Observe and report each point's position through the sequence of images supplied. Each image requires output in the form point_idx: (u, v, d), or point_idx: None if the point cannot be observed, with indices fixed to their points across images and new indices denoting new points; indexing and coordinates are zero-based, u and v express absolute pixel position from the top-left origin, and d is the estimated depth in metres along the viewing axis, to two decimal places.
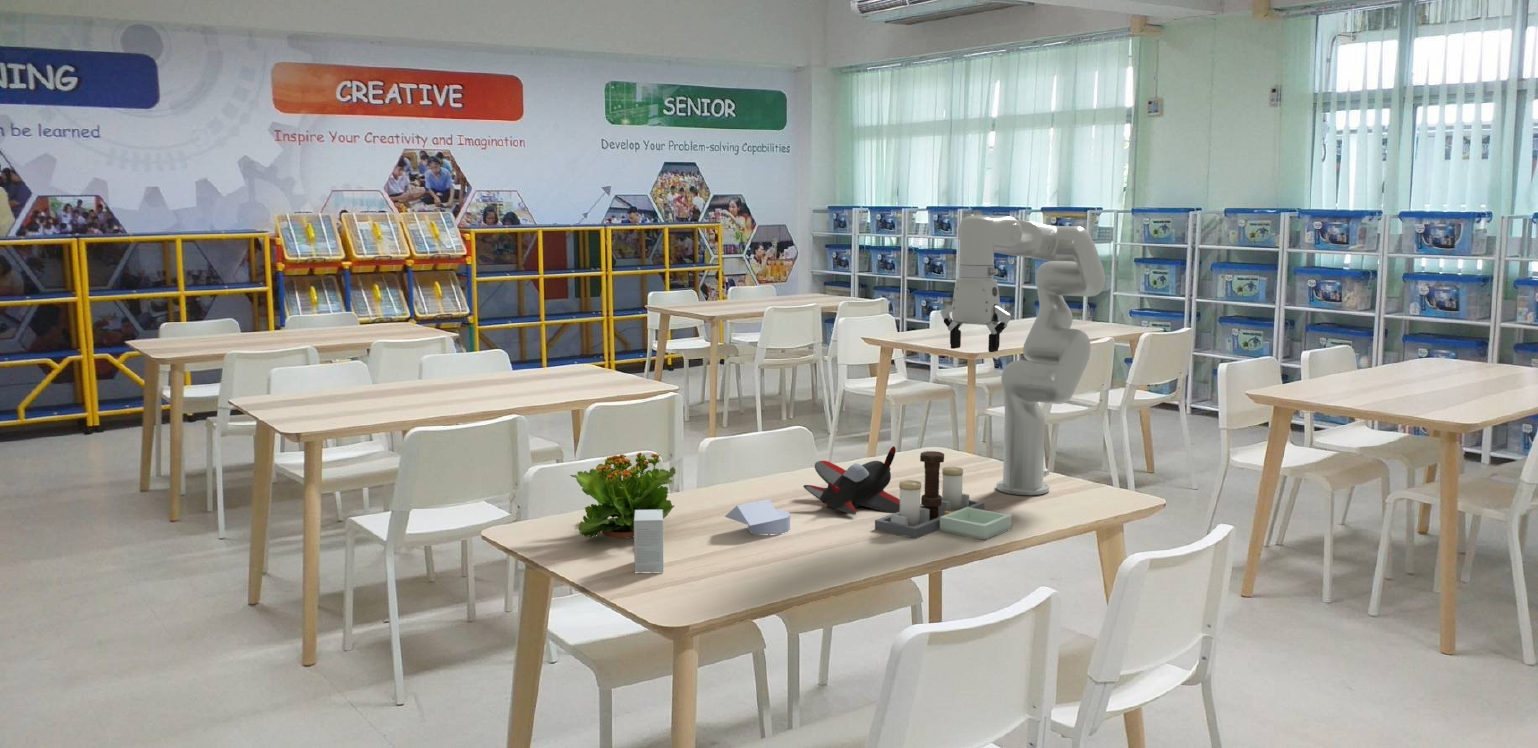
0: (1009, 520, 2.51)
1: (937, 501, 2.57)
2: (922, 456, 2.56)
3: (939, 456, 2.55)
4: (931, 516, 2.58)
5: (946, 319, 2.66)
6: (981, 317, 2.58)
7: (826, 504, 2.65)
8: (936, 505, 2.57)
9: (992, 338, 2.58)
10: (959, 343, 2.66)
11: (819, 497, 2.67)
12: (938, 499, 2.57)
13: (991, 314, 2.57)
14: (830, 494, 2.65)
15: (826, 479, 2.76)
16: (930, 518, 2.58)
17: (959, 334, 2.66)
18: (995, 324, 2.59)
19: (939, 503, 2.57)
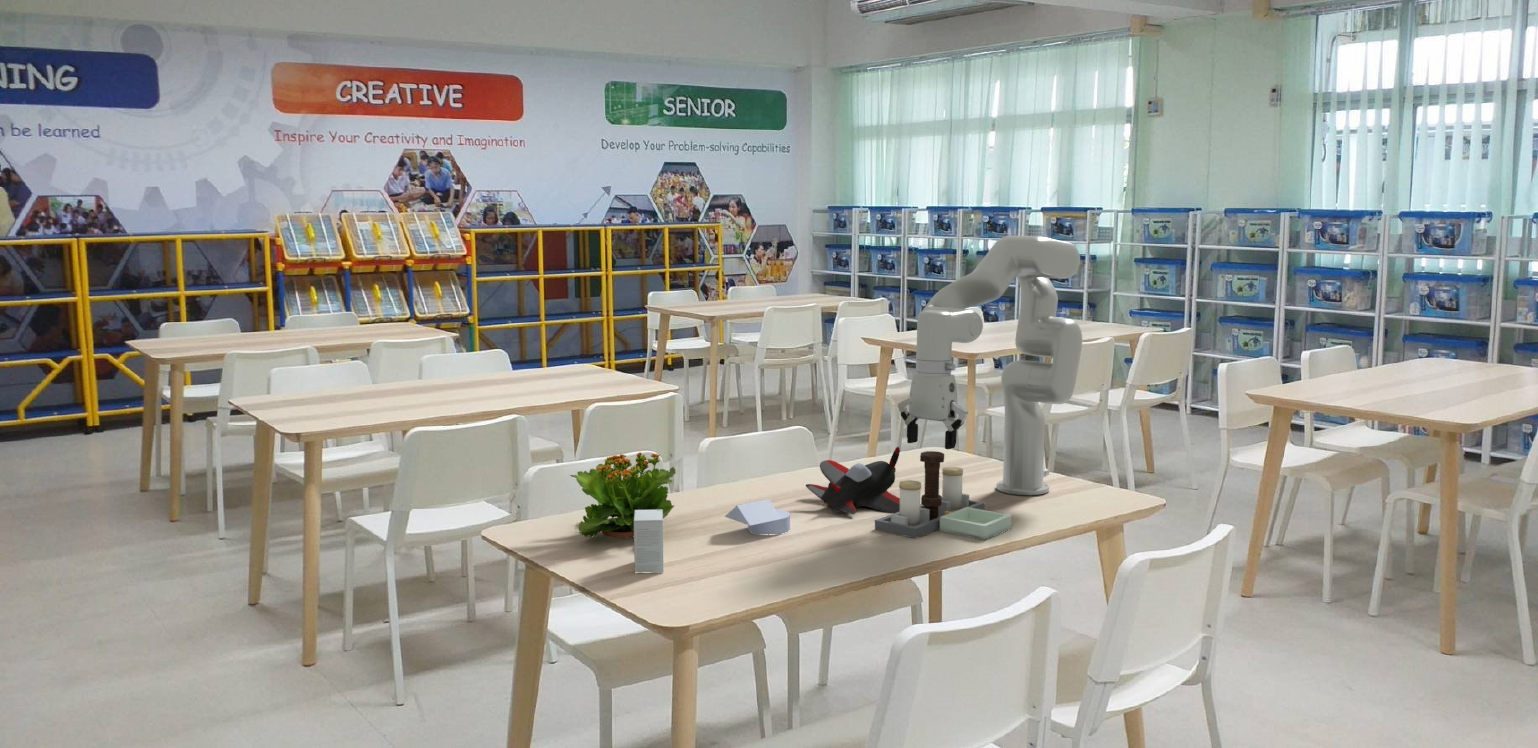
0: (1009, 520, 2.51)
1: (937, 501, 2.57)
2: (922, 456, 2.56)
3: (939, 456, 2.55)
4: (931, 516, 2.58)
5: (903, 413, 2.59)
6: (938, 413, 2.52)
7: (827, 503, 2.65)
8: (936, 505, 2.57)
9: (949, 435, 2.52)
10: (916, 437, 2.60)
11: (821, 496, 2.67)
12: (938, 499, 2.57)
13: (948, 411, 2.51)
14: (831, 493, 2.65)
15: (830, 478, 2.76)
16: (930, 518, 2.58)
17: (916, 428, 2.60)
18: (952, 420, 2.53)
19: (939, 503, 2.57)
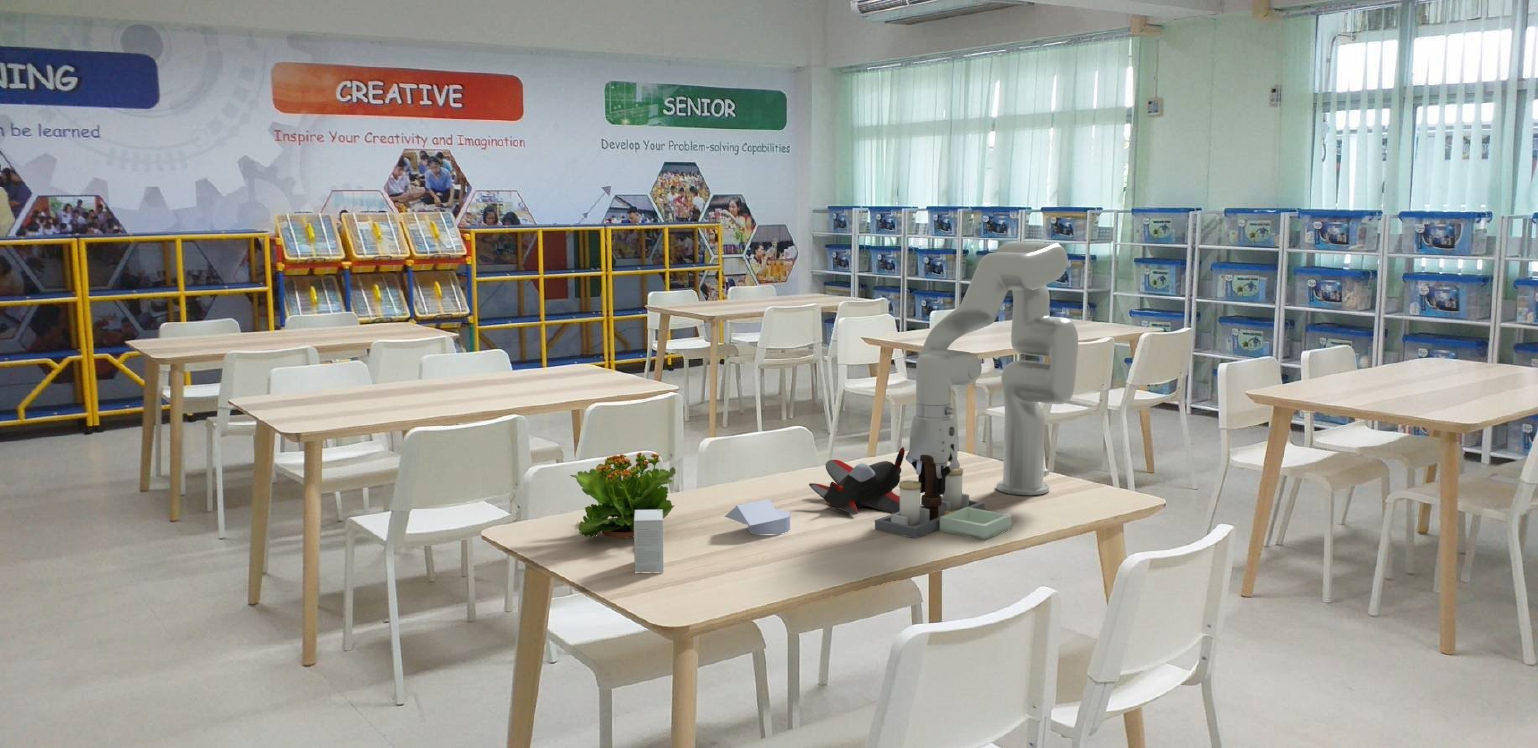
0: (1009, 520, 2.51)
1: (937, 501, 2.57)
2: (922, 456, 2.56)
3: None
4: (931, 516, 2.58)
5: (914, 462, 2.59)
6: (938, 457, 2.54)
7: (829, 503, 2.66)
8: (936, 505, 2.57)
9: (938, 482, 2.56)
10: None
11: (823, 496, 2.68)
12: (938, 499, 2.57)
13: (948, 454, 2.53)
14: (833, 493, 2.65)
15: (835, 478, 2.77)
16: (930, 518, 2.58)
17: None
18: (944, 467, 2.56)
19: (939, 503, 2.57)
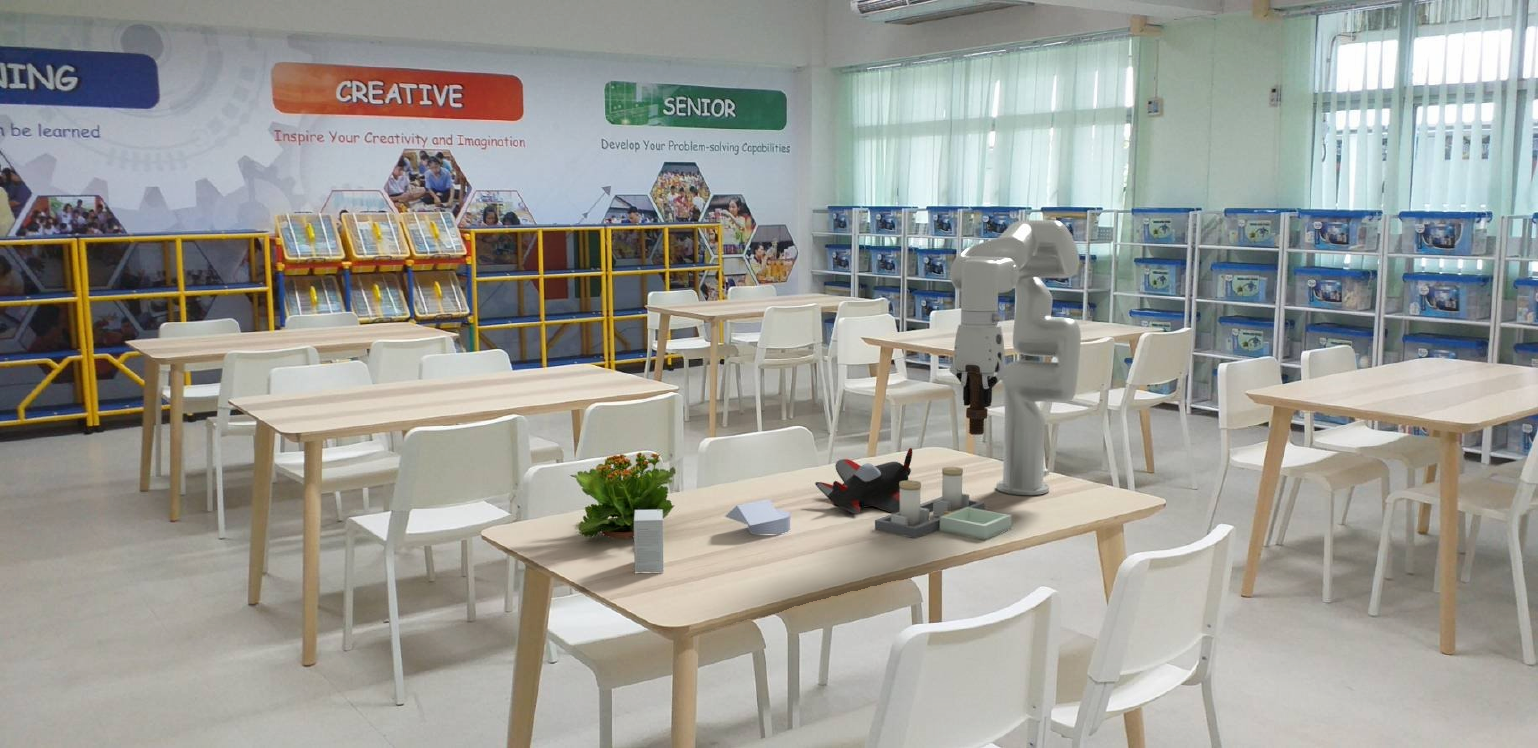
0: (1009, 520, 2.51)
1: (983, 413, 2.46)
2: (967, 366, 2.45)
3: None
4: (976, 429, 2.47)
5: (959, 374, 2.49)
6: (984, 366, 2.43)
7: (832, 502, 2.67)
8: (982, 417, 2.46)
9: (984, 393, 2.45)
10: None
11: (828, 495, 2.69)
12: (984, 411, 2.46)
13: (995, 363, 2.42)
14: (837, 492, 2.66)
15: (843, 477, 2.77)
16: (975, 431, 2.47)
17: None
18: (991, 377, 2.46)
19: (985, 415, 2.46)
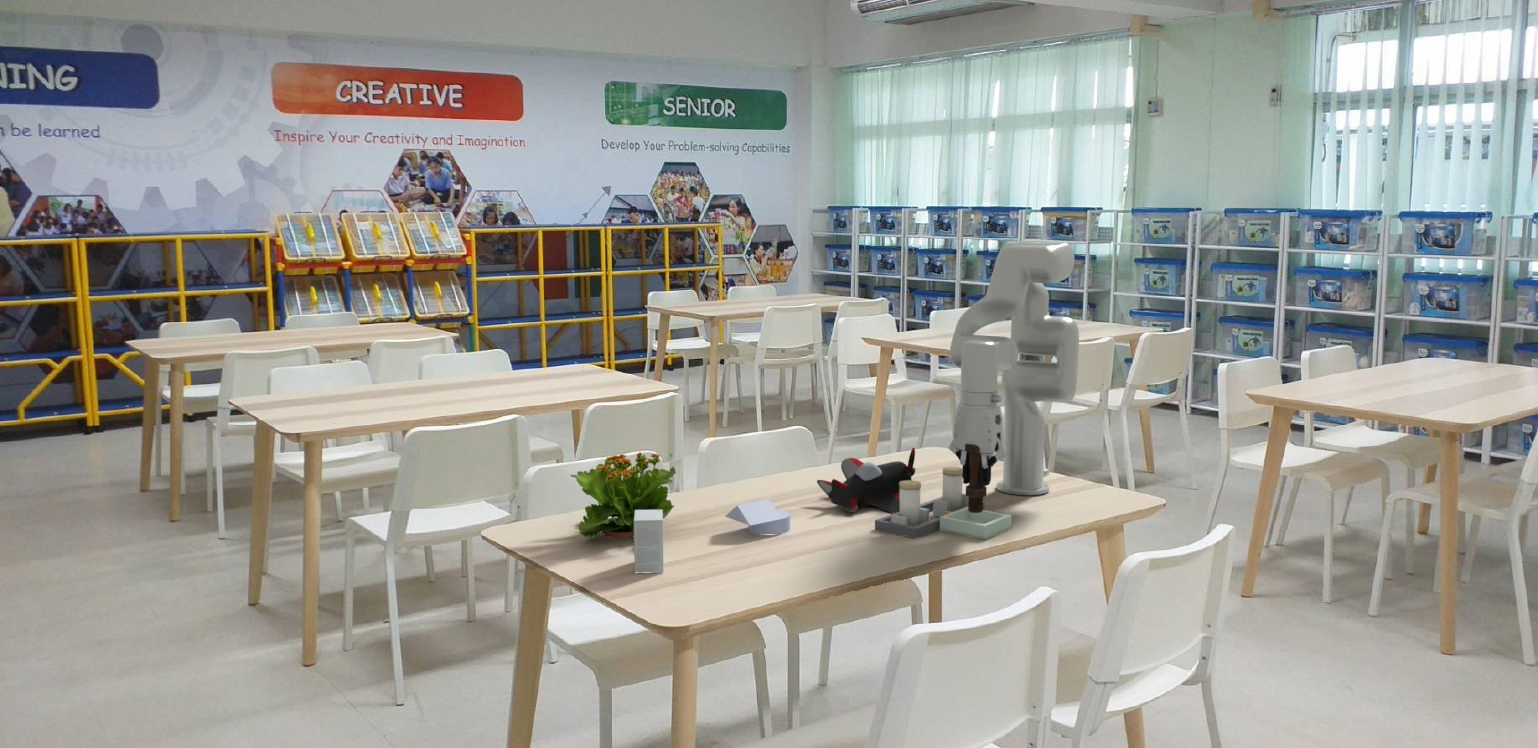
0: (1009, 520, 2.51)
1: (982, 492, 2.48)
2: (967, 445, 2.47)
3: None
4: (976, 508, 2.49)
5: (958, 452, 2.51)
6: (984, 446, 2.45)
7: (832, 500, 2.68)
8: (981, 496, 2.48)
9: (983, 472, 2.47)
10: None
11: (828, 492, 2.70)
12: (983, 490, 2.48)
13: (994, 444, 2.44)
14: (836, 490, 2.68)
15: (847, 476, 2.78)
16: (975, 510, 2.49)
17: None
18: (990, 456, 2.48)
19: (984, 494, 2.48)
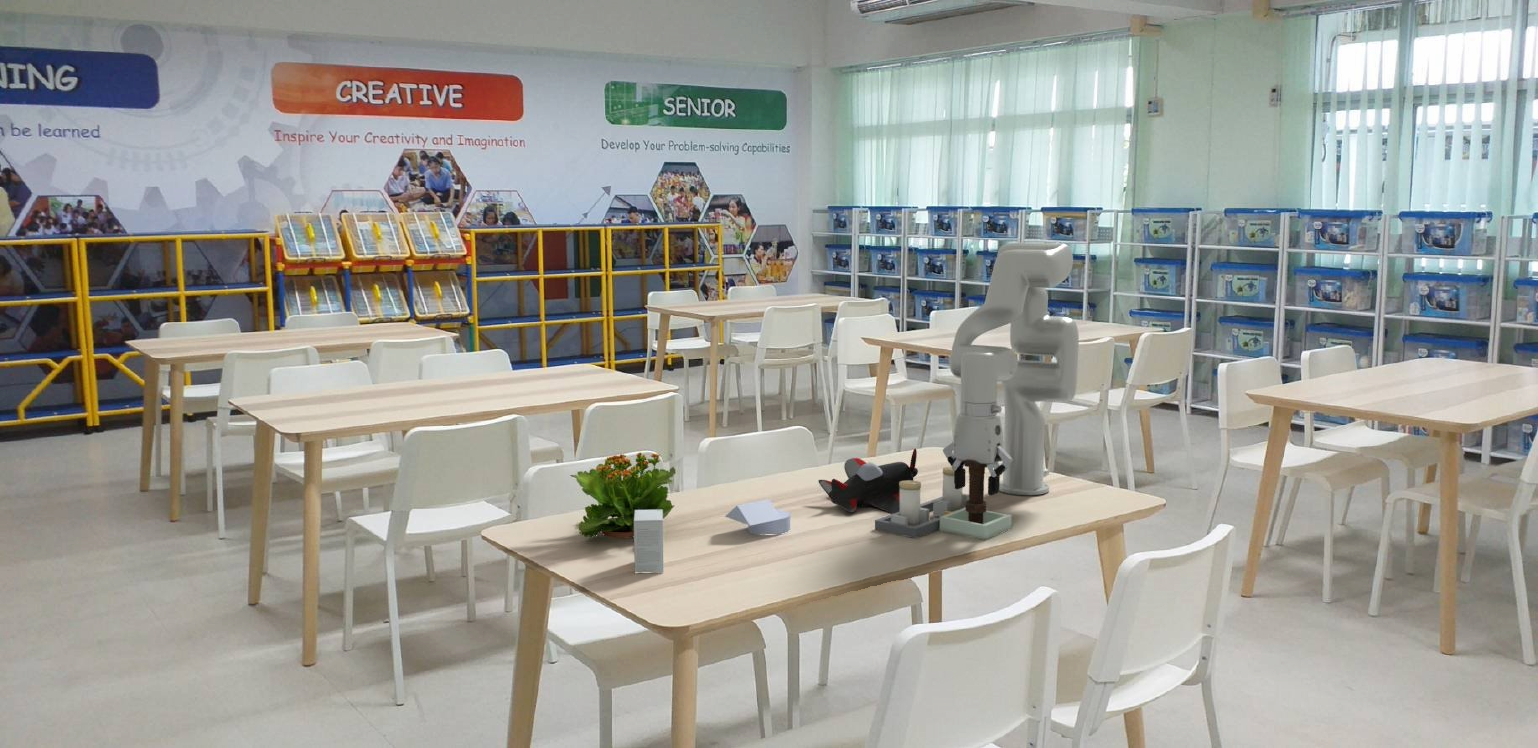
0: (1009, 520, 2.51)
1: (982, 507, 2.49)
2: (967, 461, 2.48)
3: None
4: None
5: (950, 458, 2.53)
6: (983, 457, 2.46)
7: (832, 500, 2.69)
8: (981, 511, 2.49)
9: (992, 481, 2.46)
10: (964, 483, 2.53)
11: (829, 492, 2.71)
12: (983, 505, 2.49)
13: (994, 454, 2.45)
14: (836, 490, 2.68)
15: (849, 476, 2.79)
16: None
17: (964, 473, 2.53)
18: (996, 465, 2.47)
19: (984, 509, 2.49)
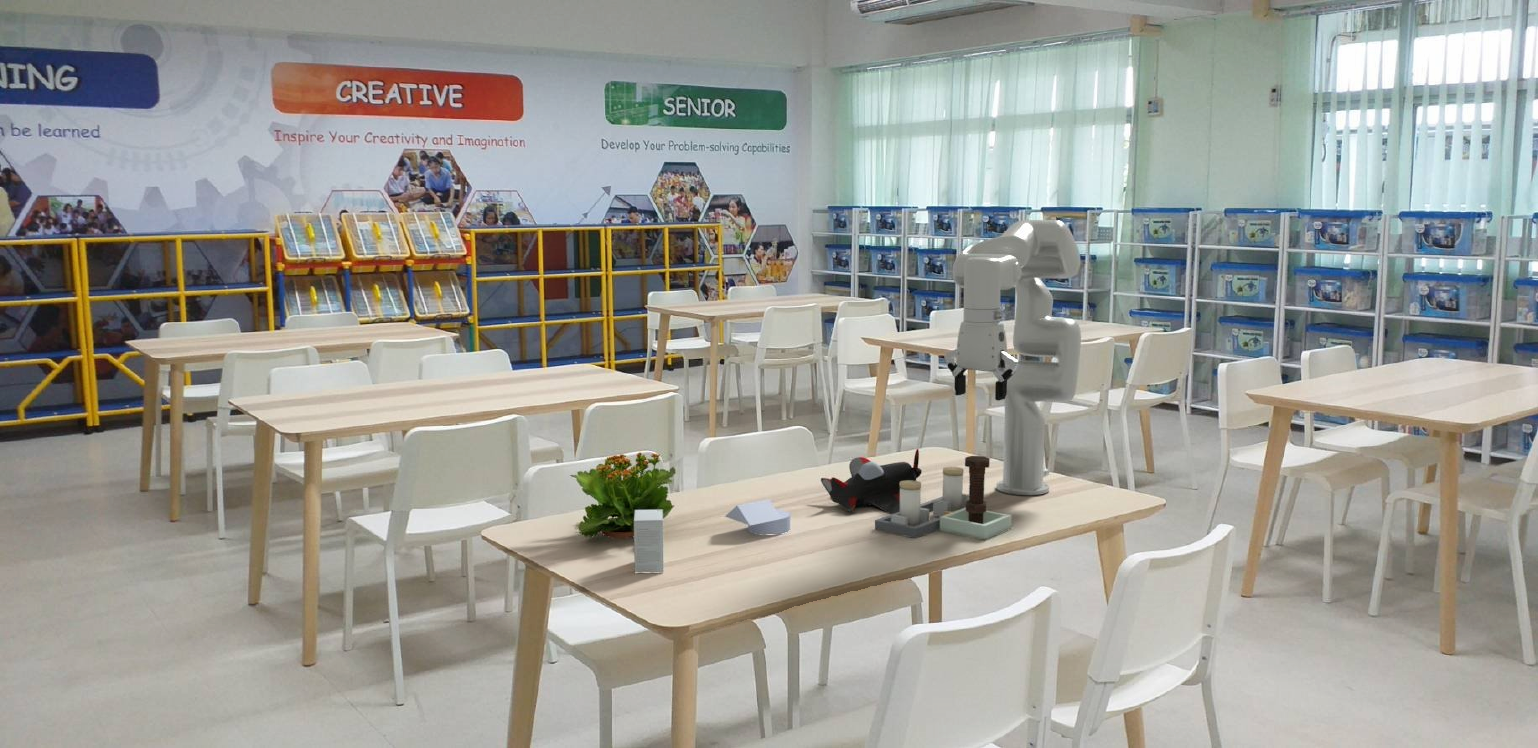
0: (1009, 520, 2.51)
1: (982, 507, 2.49)
2: (967, 461, 2.48)
3: (985, 461, 2.47)
4: None
5: (950, 364, 2.52)
6: (987, 364, 2.44)
7: (832, 498, 2.70)
8: (981, 511, 2.49)
9: (999, 386, 2.44)
10: (964, 389, 2.52)
11: (830, 491, 2.72)
12: (983, 505, 2.49)
13: (998, 361, 2.43)
14: (836, 488, 2.69)
15: (853, 475, 2.79)
16: None
17: (964, 380, 2.52)
18: (1002, 370, 2.45)
19: (984, 509, 2.49)
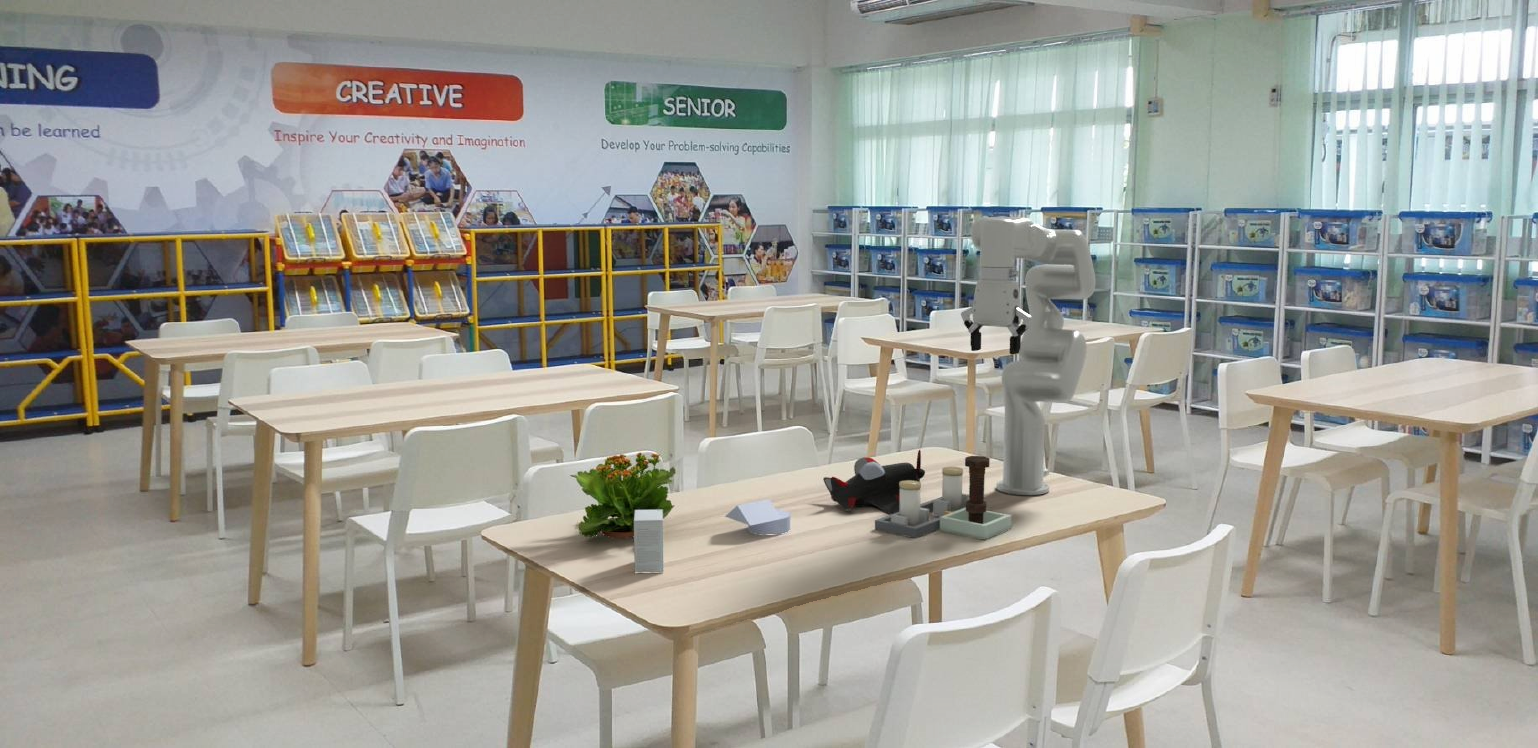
0: (1009, 520, 2.51)
1: (982, 507, 2.49)
2: (967, 461, 2.48)
3: (985, 461, 2.47)
4: None
5: (966, 321, 2.65)
6: (1002, 319, 2.57)
7: (832, 497, 2.71)
8: (981, 511, 2.49)
9: (1013, 340, 2.57)
10: (979, 345, 2.65)
11: (831, 490, 2.73)
12: (983, 505, 2.49)
13: (1012, 316, 2.56)
14: (836, 488, 2.70)
15: (857, 475, 2.80)
16: None
17: (979, 336, 2.65)
18: (1016, 326, 2.58)
19: (984, 509, 2.49)
